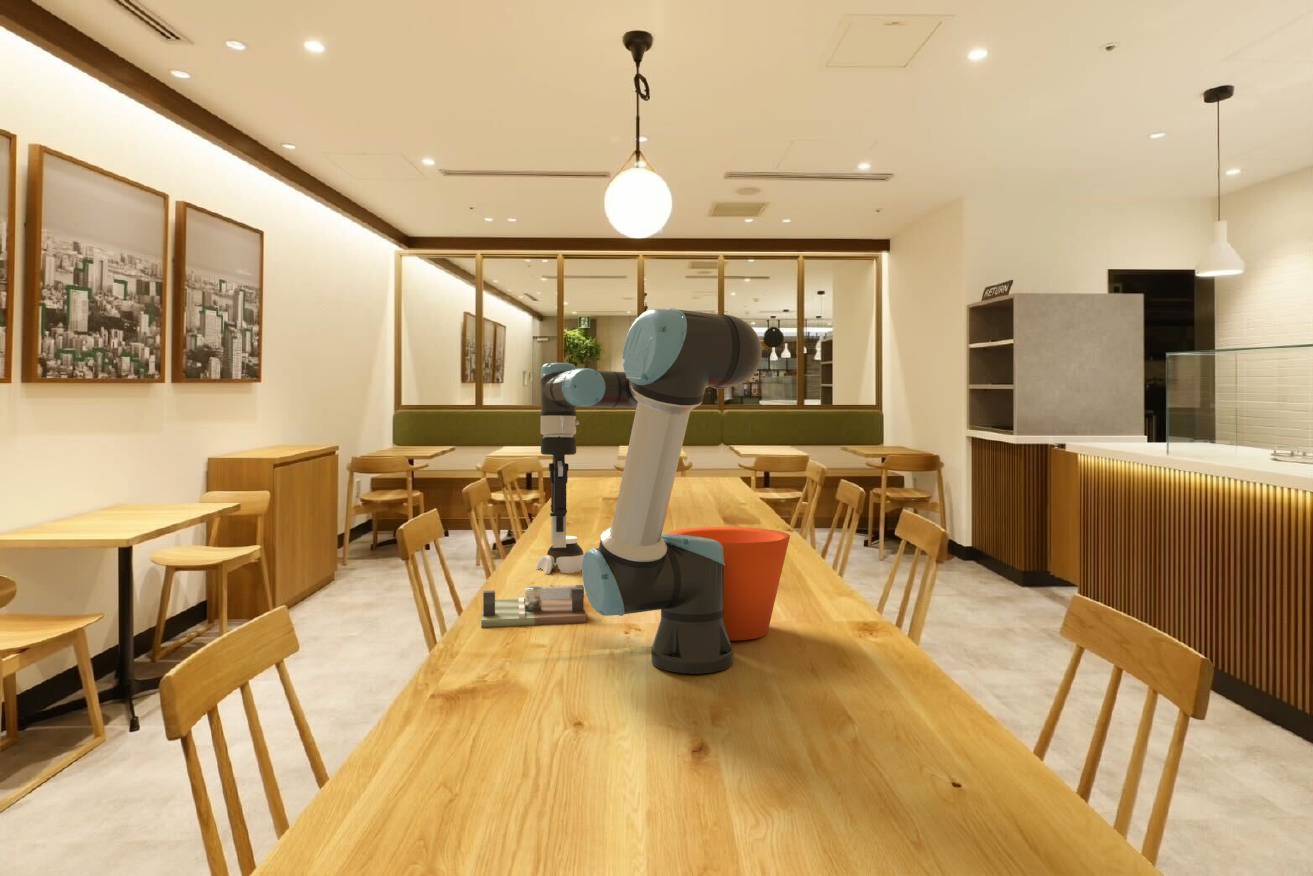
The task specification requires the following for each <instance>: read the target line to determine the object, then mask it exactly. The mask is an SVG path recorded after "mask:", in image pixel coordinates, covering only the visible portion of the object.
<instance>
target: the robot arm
mask: <svg viewBox="0 0 1313 876" xmlns="http://www.w3.org/2000/svg"><path fill="white" fill-rule="evenodd" d="M762 350H763V349H762V344H761V341H760V337H759V336H758V334H757V332H756V331H755V330H754V328H753V327H752V326H751V325H750V324H749V323H747V322H746V321H744V320H743V319H742V318H739V317H736V316H735V315H732V314H731V315H730V314H723V313H719V314H718V313H710V312H702V311H695V310H693V311H692V310H684V309H679V308H678V309H676V308H674V307H672V308H650V309H648V310H646V311H644V312H642V313H641V314H640V315H639V316H637V317H636V318H635V320H634V322H633V323H631V325H630V327H629V330H628V332H627V335H626V337H625V341H624V345H623V350H622V359H623V363H622V367H623V370H624V371H614V370H595V369H593V368H589V367H588V368H587V367H578V368H577V367H576V366H575V365H574V363H569V362H568V363H567V362H551V363H549V362H548V363H544V364H543V365H542V367H541V371H540V378H539V381H540V435H543V437H541V438H540V454H541V455H543V456H545V455H548V456H552V460H551V461H552V463H551V462H549V463H548V471H549V483H550V484H551V485H550V487H551V488H550V490H551V491H550V492H551V493H550V494H551V496H550V502H551V503H550V513H549V517H550V518H551V519H550V521H551V523H550V525H551V527H550V529H551V531H550V533H551V534H550V535H551V538H550V540H551V541H550V544H552V545H553V548H561V547H566V536H567V513H568V509H567V484H568V481H569V480H568V471H569V463H566V457H565V456H567V455H568V456H573V455H576V453H577V439H576V437H574V435H576V434H577V426H579V425H580V421H579V420H576V419H577V408H612V409H614V408H617V409H618V408H619V409H620V408H622V409H625V408H626V409H635V413H634V417H633V418H634V419H633V423H632V427H631V433H630V437H629V443H628V448H627V453H626V457H625V462H624V466H623V471H622V476H621V481H620V486H619V491H618V496H617V501H616V505H615V511H614V515H613V519H612V526H609V527H608V528H606V529H605V530H604V531H603V532H602V533H601V535H600V541H599V545H598V548H595V547H592V548H591V549H588V550H587V551H586V552H585V553H584V557H583V561H582V571H581V575H582V582H583V583H582V584H583V586H584V592H585V595H586V597H587V599H588V602H589V604H590V605H591V607H592V608H593V610H594V611H595V612H596V613H598V614H599V615H600V616H605V617H608V616H619V617H622V616H624V615H629V614H637V613H643V612H651V611H658V610H659V611H660V622H659V624H658V628H657V631H656V633H655V636H654V640H653V643H652V646H651V651H650V653H651V656H650V659H651V660H650V661H651V663H652V665H654V666H655V667H657V668H658V669H661V670H664V671H668V672H672V673H680V674H709V673H716V672H719V671H720V672H721V671H724V670H726V669H729V668H730V667H731V666H732V665H733V664H734V648H733V645H732V642H731V640H730V639H729V636H728V632H727V629H726V626H725V623H724V566H725V563H724V553H723V547H722V545H721V544H720V543H719V542H718V541H716V540H713V539H708V538H702V537H695V536H686V535H676V534H669V533H666V534H665V533H664V534H663V531H664V526H665V521H666V517H667V513H668V508H669V505H670V504H669V503H670V500H671V496H672V491H673V487H674V483H675V480H676V479H675V478H676V474H677V470H678V466H679V460H680V457H681V453H682V448H683V444H684V441H685V440H684V439H685V436H686V432H687V431H686V430H687V427H688V422H689V418H690V414H691V411H692V410H693V409H695V408H697V407H699V406H700V405H702V403H703V400H704V397H705V396H704V395H705V391H706V388H710V387H711V388H713V389H719V390H721V389H723V390H724V389H728V388H731V387H735V386H739V385H740V386H741V385H742V384H744V383H746V382H748V381H749V380H750V379H752V377H753V376H755V374H756V373H757V371H758V369H759V367H760V364H761V361H762V356H763V355H762V354H763V353H762V352H763V351H762Z"/></svg>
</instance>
